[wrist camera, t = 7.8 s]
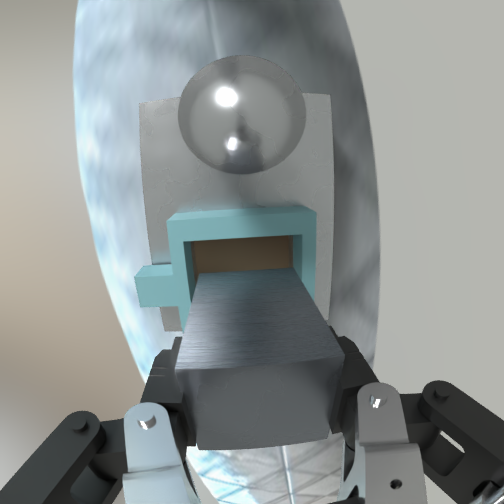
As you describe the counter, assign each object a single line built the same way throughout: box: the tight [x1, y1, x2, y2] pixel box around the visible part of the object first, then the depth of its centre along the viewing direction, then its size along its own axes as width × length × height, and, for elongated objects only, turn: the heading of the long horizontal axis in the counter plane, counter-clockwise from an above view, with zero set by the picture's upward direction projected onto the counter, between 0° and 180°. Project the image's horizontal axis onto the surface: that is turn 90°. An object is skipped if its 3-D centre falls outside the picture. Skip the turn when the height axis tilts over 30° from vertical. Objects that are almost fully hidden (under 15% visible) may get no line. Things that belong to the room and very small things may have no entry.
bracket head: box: [134, 206, 317, 333], centre depth 17 cm, size 8×11×2 cm
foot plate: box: [194, 235, 289, 277], centre depth 22 cm, size 14×14×2 cm
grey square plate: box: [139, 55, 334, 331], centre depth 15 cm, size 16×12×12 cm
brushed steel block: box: [175, 267, 345, 450], centre depth 11 cm, size 4×4×7 cm
